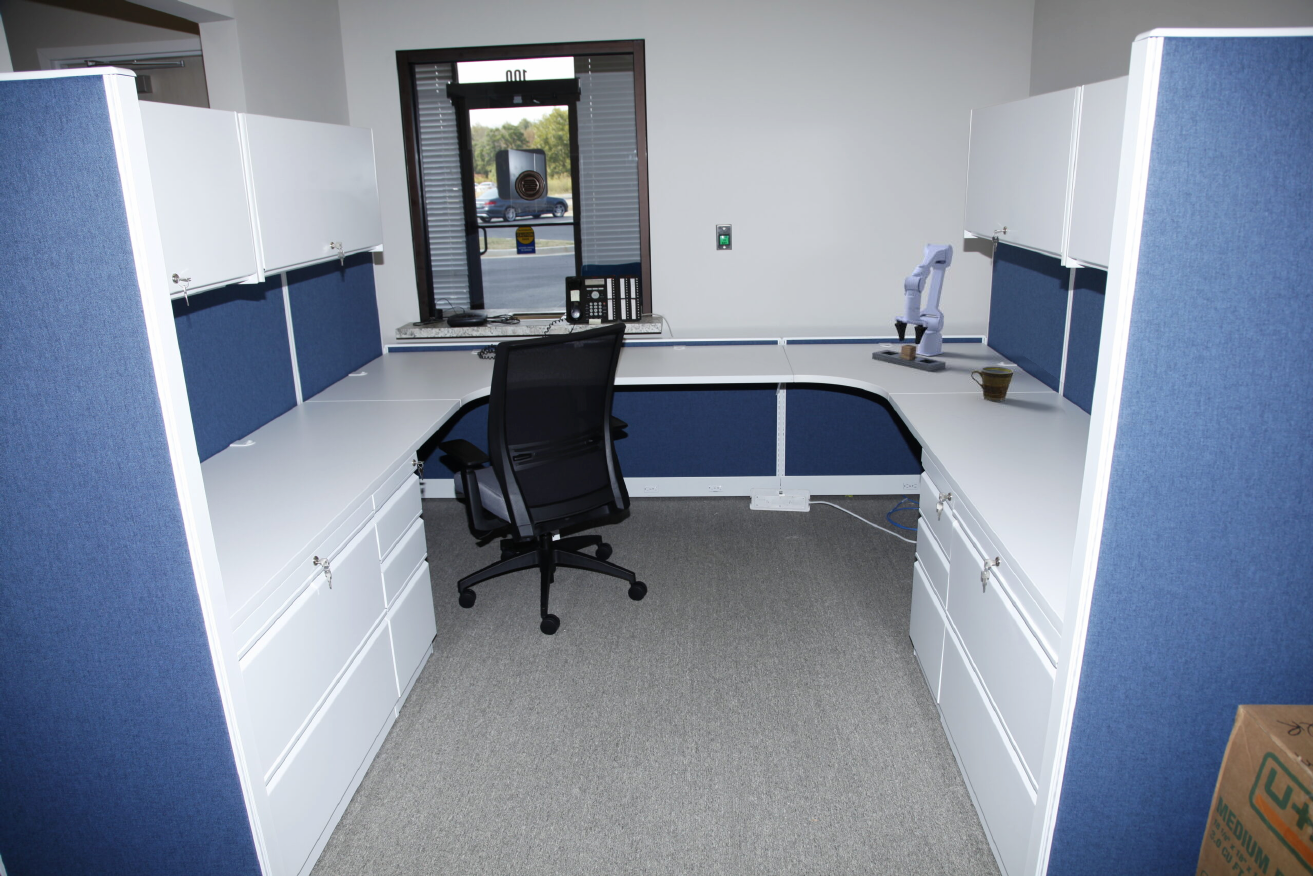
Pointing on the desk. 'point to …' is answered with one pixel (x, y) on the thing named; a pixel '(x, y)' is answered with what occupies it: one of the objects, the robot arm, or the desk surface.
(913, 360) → the grey square hole board
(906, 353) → the square peg
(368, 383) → the desk surface
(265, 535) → the desk surface
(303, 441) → the desk surface
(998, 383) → the ceramic cup
